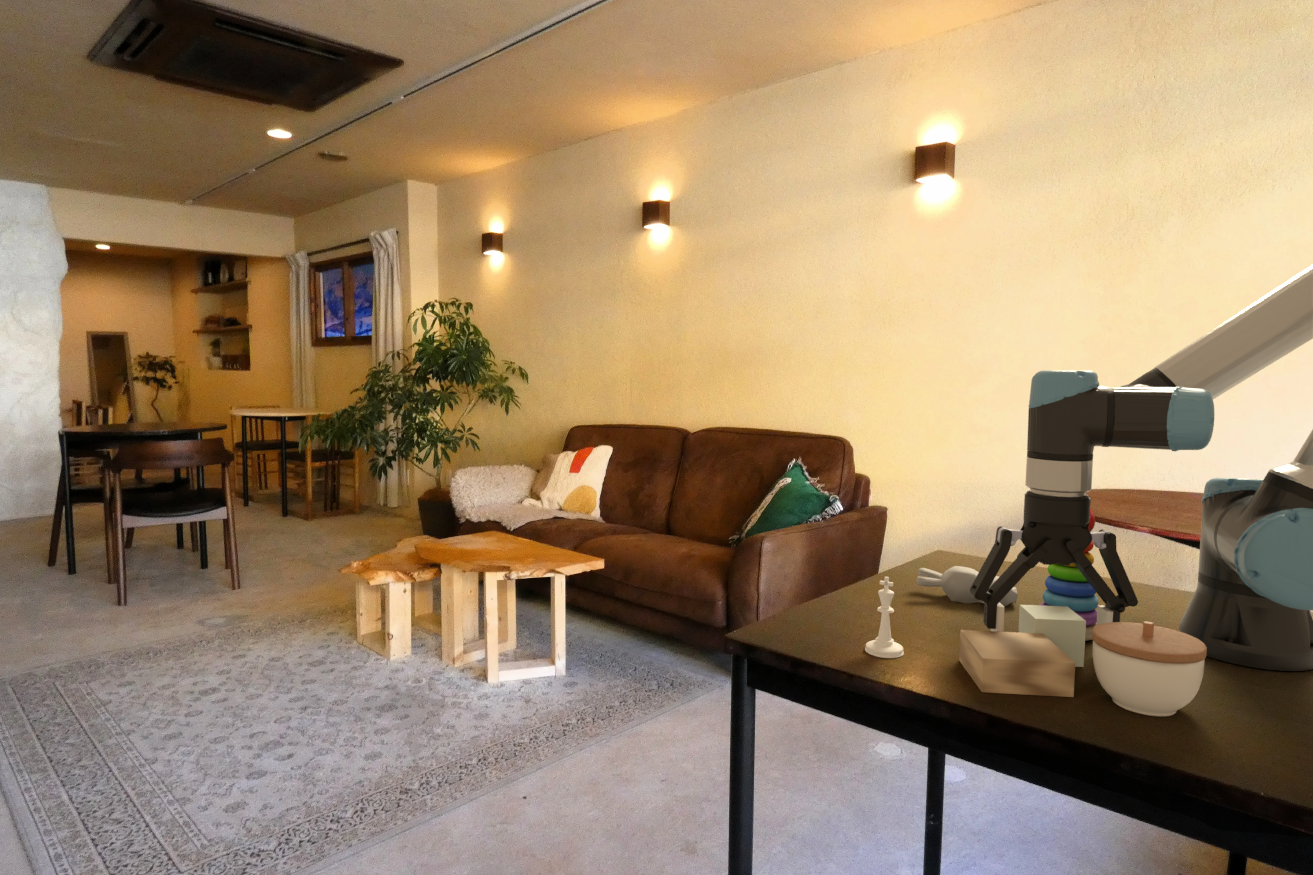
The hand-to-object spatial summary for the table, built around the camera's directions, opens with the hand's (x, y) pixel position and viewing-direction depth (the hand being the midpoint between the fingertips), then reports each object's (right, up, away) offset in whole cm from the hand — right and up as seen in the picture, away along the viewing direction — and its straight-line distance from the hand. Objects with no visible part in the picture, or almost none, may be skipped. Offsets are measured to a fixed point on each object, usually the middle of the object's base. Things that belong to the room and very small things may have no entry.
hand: (1048, 655), depth 102 cm
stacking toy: (+7, 0, +9) cm, 12 cm away
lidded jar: (+3, -2, -15) cm, 15 cm away
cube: (0, 0, 0) cm, 0 cm away
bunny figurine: (-1, +2, +25) cm, 25 cm away
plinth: (-8, -1, -7) cm, 11 cm away
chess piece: (-21, 0, +2) cm, 21 cm away
